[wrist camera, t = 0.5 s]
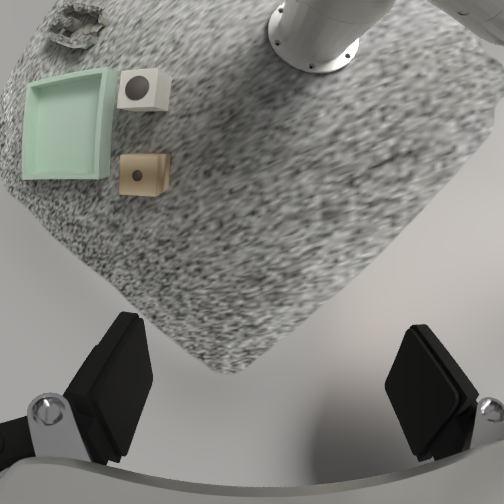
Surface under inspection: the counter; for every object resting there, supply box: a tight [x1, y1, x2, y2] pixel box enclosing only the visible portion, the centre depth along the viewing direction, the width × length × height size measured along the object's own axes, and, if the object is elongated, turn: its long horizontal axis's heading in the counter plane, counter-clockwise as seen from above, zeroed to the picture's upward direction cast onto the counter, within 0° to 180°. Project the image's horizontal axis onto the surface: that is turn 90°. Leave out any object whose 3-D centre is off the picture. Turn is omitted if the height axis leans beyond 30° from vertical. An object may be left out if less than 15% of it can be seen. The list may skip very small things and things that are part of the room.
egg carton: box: [43, 3, 110, 50], centre depth 28 cm, size 11×8×4 cm
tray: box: [22, 67, 119, 180], centre depth 34 cm, size 16×16×4 cm
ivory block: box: [117, 68, 172, 112], centre depth 32 cm, size 5×5×6 cm
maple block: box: [119, 153, 171, 197], centre depth 36 cm, size 5×5×6 cm
